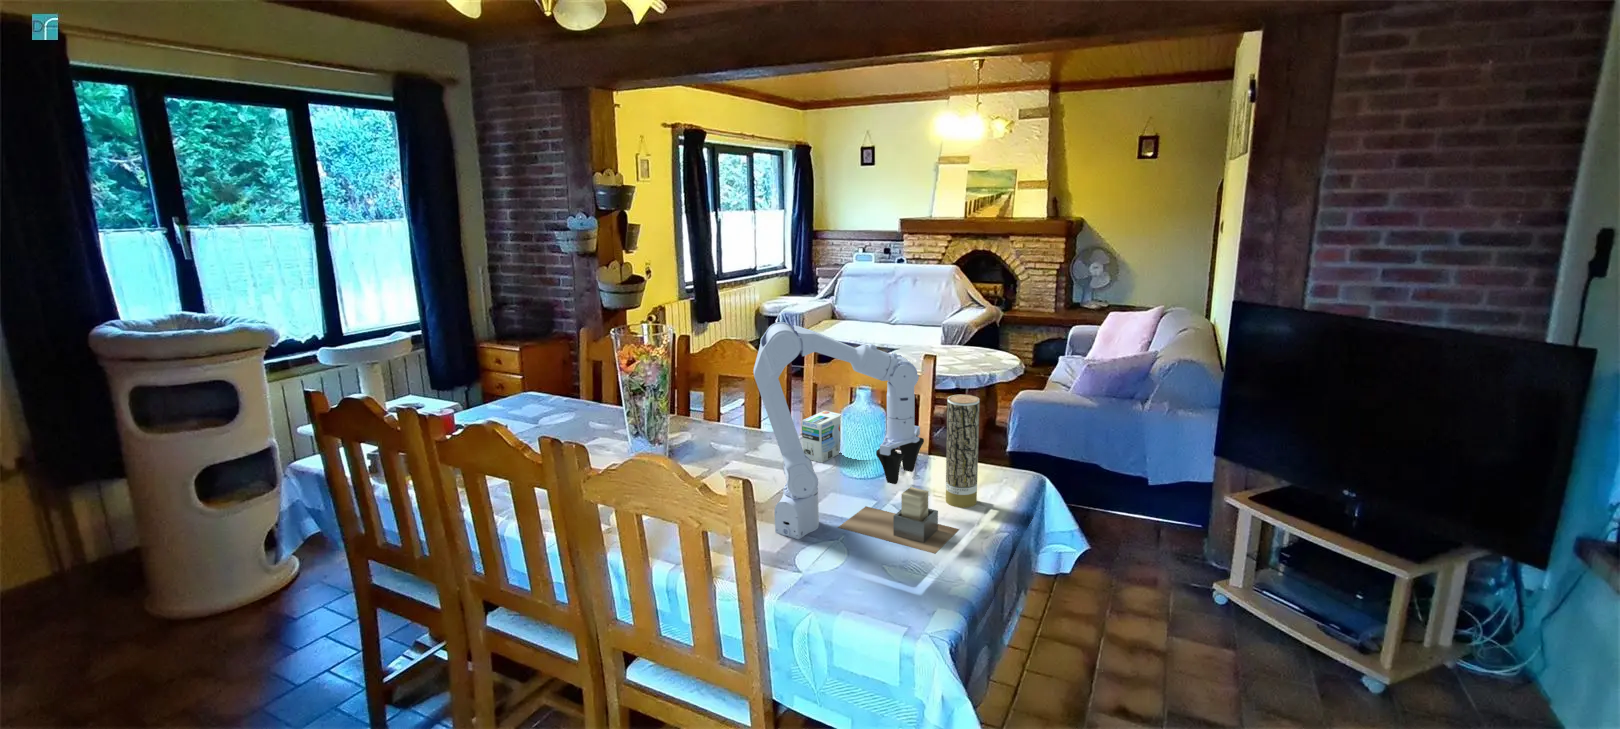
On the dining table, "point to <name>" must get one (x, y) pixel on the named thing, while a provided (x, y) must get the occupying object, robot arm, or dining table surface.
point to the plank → (882, 528)
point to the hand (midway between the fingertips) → (900, 476)
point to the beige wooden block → (915, 504)
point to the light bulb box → (821, 436)
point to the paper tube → (962, 450)
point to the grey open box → (915, 526)
